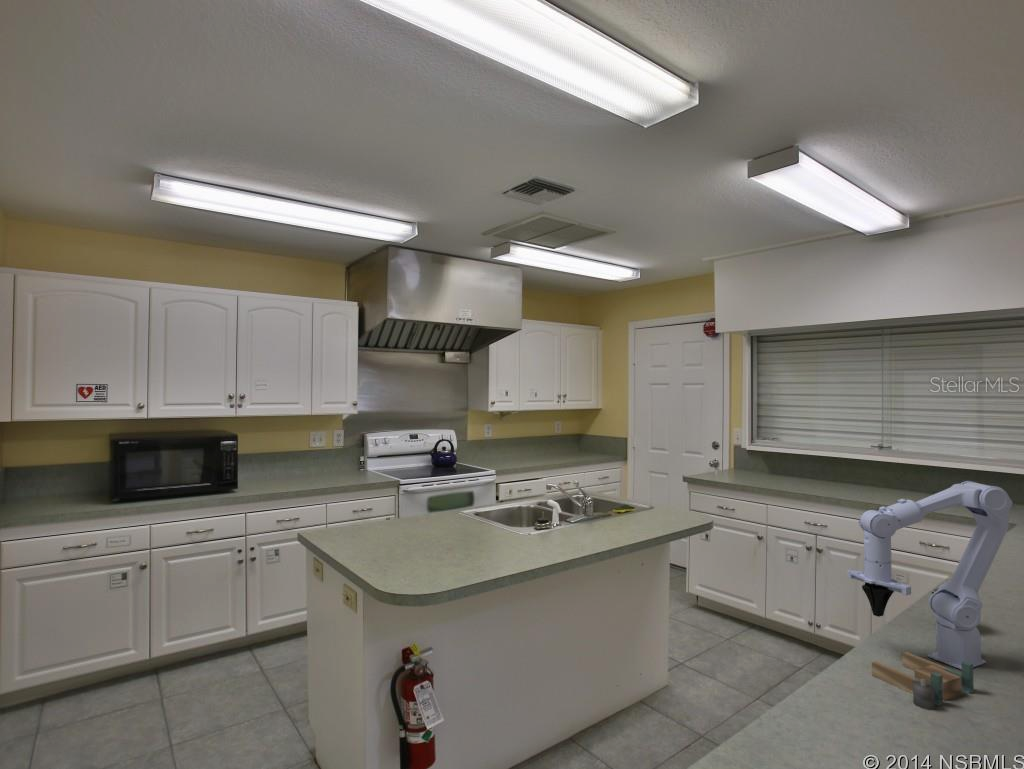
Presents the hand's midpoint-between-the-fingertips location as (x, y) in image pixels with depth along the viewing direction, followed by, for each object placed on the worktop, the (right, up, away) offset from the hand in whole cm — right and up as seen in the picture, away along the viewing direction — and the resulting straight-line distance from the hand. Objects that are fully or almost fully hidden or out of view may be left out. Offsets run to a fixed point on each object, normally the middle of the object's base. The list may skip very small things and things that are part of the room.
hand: (878, 615), depth 140 cm
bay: (0, -10, -14) cm, 17 cm away
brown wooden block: (+3, -10, -16) cm, 19 cm away
